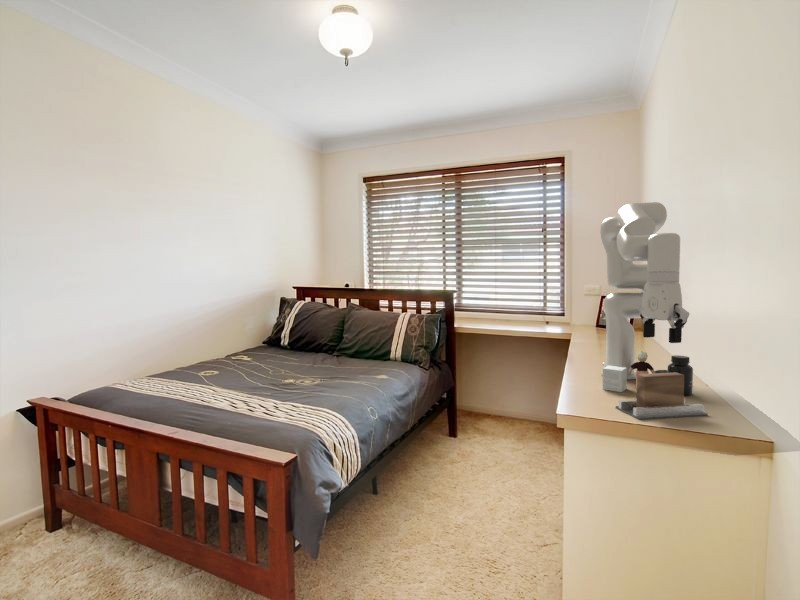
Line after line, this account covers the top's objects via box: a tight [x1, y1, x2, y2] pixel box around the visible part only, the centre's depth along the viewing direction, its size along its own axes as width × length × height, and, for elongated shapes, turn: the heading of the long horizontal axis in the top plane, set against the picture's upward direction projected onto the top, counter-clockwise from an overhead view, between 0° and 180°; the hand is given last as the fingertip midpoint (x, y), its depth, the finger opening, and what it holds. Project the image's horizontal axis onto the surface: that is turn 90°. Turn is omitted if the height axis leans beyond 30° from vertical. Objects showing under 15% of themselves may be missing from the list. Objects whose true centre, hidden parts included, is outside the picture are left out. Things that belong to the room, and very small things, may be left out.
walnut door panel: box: [636, 372, 685, 407], centre depth 115 cm, size 3×12×10 cm, turn 97°
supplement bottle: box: [666, 354, 694, 397], centre depth 132 cm, size 7×7×12 cm
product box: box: [602, 365, 628, 393], centre depth 138 cm, size 6×6×7 cm
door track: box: [615, 397, 708, 421], centre depth 115 cm, size 10×20×2 cm, turn 97°
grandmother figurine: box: [629, 351, 656, 390], centre depth 138 cm, size 8×4×13 cm, turn 72°
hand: (661, 339), depth 114 cm, fingers open, 9 cm apart
